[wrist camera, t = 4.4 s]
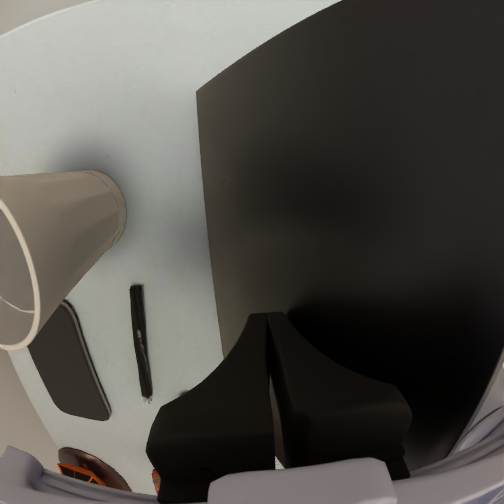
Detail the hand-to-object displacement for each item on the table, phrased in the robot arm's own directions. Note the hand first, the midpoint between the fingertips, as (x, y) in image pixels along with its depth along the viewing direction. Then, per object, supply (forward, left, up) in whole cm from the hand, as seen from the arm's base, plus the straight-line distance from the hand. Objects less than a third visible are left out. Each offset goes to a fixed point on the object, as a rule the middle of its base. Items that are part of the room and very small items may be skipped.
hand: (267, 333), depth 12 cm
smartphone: (+20, +10, -10) cm, 25 cm away
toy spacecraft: (+28, +37, -10) cm, 48 cm away
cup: (+12, -4, -10) cm, 16 cm away
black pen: (+10, +8, -10) cm, 17 cm away
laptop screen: (-1, 0, -1) cm, 2 cm away
